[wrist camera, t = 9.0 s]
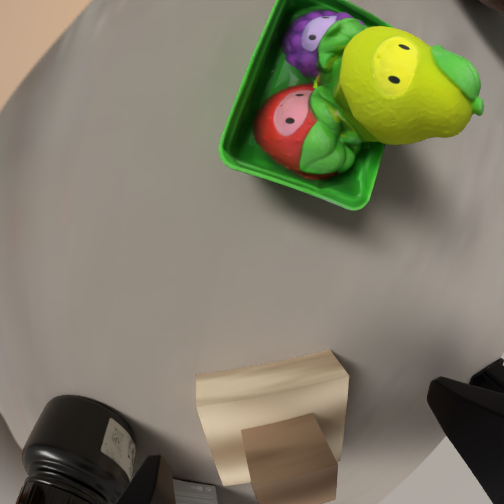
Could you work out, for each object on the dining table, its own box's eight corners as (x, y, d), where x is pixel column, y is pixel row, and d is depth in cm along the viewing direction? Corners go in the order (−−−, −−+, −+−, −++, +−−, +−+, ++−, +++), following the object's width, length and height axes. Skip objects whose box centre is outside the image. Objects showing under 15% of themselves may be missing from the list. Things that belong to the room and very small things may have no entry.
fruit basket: (267, 14, 16) (325, -99, 5) (382, 66, 18) (497, 15, 7) (210, 167, 18) (219, 148, 7) (341, 212, 20) (471, 252, 9)
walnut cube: (315, 452, 20) (335, 499, 15) (252, 468, 19) (264, 518, 15) (312, 412, 19) (337, 464, 14) (240, 429, 18) (252, 486, 13)
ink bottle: (127, 471, 22) (116, 570, 11) (45, 439, 20) (10, 529, 9) (148, 413, 21) (132, 543, 9) (47, 372, 19) (-15, 480, 7)
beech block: (325, 431, 25) (340, 460, 21) (219, 453, 23) (223, 486, 20) (328, 346, 22) (349, 375, 18) (196, 371, 21) (196, 406, 17)
